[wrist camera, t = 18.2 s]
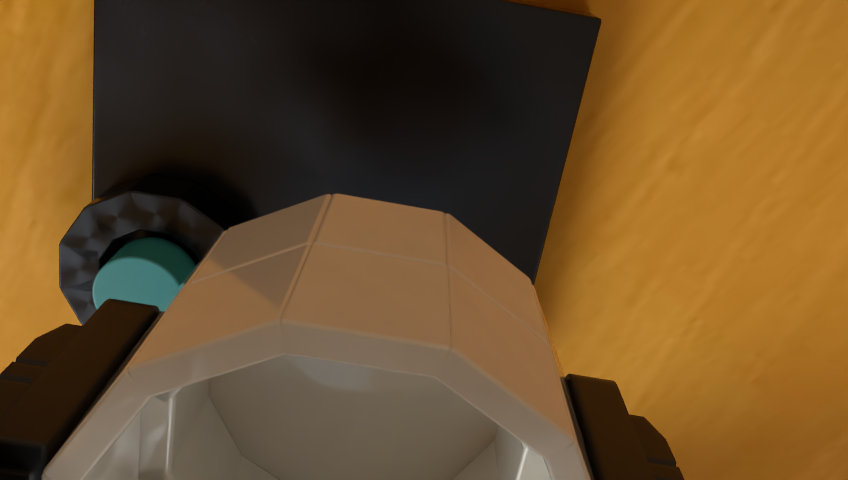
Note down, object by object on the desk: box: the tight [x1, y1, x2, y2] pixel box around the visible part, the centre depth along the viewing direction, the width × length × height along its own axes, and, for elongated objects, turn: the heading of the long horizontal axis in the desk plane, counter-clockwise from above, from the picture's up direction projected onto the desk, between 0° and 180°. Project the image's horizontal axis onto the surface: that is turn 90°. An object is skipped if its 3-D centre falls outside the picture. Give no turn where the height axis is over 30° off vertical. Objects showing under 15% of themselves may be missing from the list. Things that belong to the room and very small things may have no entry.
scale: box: [59, 0, 601, 326], centre depth 23 cm, size 14×12×3 cm
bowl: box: [41, 194, 595, 480], centre depth 11 cm, size 6×6×4 cm
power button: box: [92, 237, 196, 311], centre depth 22 cm, size 3×3×2 cm
